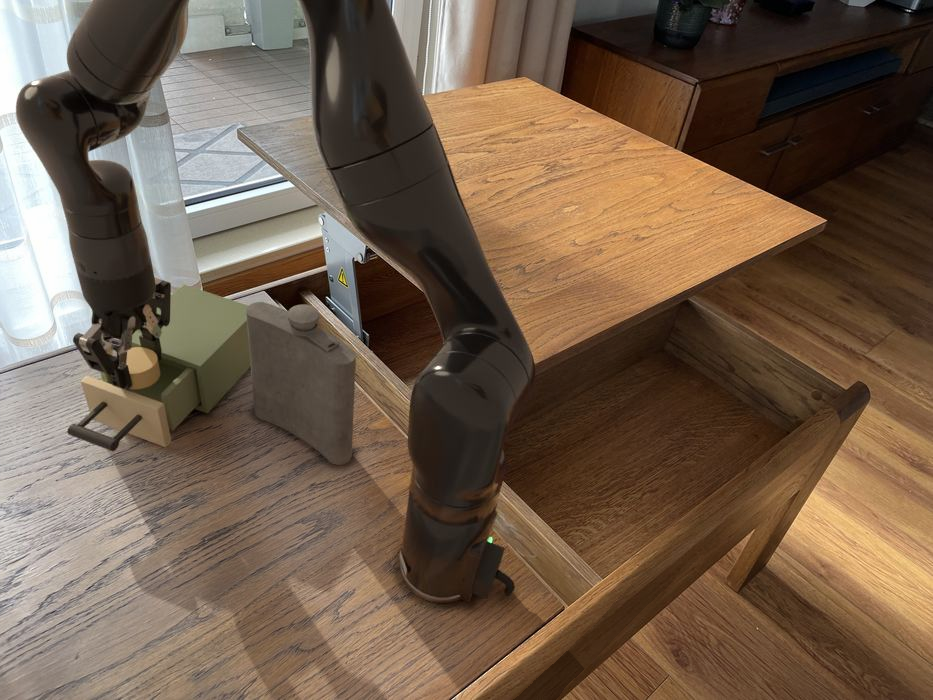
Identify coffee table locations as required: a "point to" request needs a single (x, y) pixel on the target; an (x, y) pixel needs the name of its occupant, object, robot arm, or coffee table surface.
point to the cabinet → (206, 340)
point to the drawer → (139, 406)
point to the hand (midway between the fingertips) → (138, 372)
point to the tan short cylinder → (142, 367)
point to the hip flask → (302, 377)
